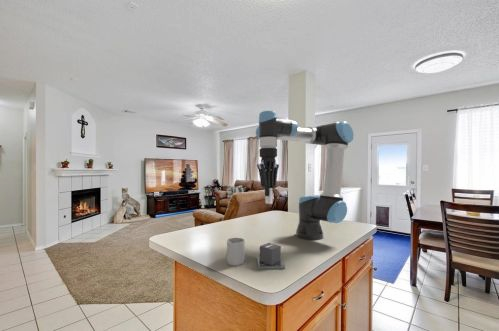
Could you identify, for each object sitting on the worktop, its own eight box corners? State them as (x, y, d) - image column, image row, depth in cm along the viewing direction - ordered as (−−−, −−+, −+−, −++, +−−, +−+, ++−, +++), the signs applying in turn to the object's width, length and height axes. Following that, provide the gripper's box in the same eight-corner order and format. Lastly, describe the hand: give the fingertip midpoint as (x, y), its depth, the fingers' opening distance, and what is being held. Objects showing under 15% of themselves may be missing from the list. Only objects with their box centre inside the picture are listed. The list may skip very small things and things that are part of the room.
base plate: (280, 258, 96) (280, 248, 96) (285, 268, 86) (285, 256, 86) (256, 259, 95) (256, 248, 95) (258, 269, 85) (258, 257, 85)
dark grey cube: (268, 257, 95) (268, 242, 95) (280, 261, 91) (280, 245, 91) (259, 261, 90) (259, 245, 91) (271, 265, 86) (271, 248, 86)
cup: (230, 267, 87) (230, 244, 87) (222, 258, 96) (222, 237, 96) (247, 264, 90) (247, 241, 90) (238, 255, 99) (238, 235, 99)
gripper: (269, 149, 103) (270, 200, 103) (251, 147, 94) (252, 204, 93) (284, 148, 98) (284, 202, 98) (266, 146, 89) (267, 206, 88)
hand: (269, 203), depth 96 cm, fingers closed
